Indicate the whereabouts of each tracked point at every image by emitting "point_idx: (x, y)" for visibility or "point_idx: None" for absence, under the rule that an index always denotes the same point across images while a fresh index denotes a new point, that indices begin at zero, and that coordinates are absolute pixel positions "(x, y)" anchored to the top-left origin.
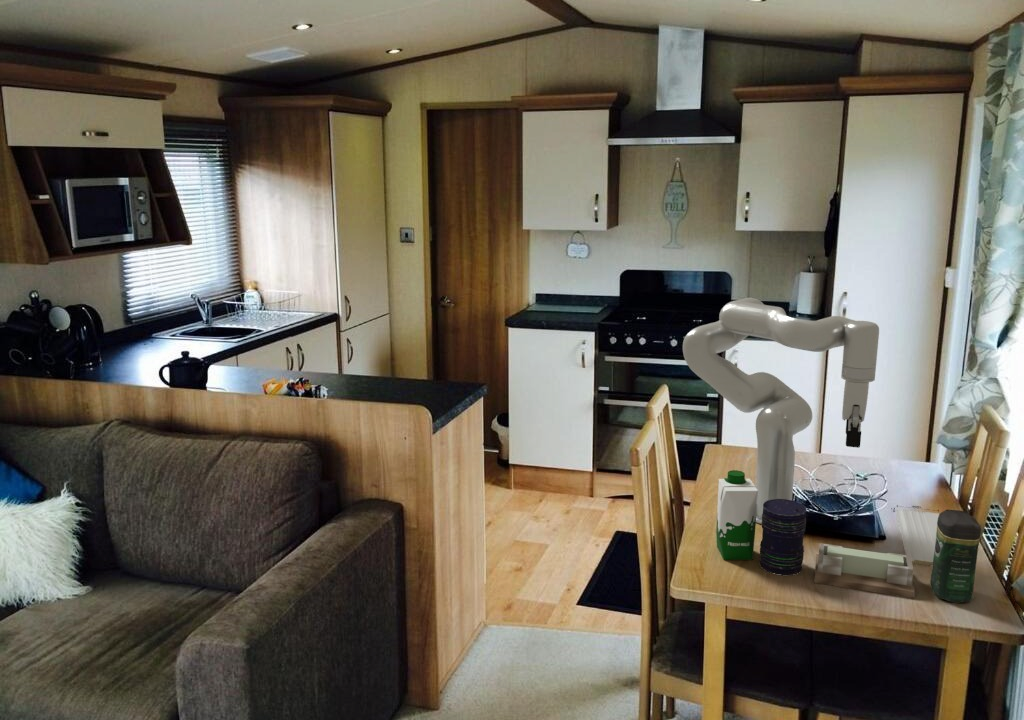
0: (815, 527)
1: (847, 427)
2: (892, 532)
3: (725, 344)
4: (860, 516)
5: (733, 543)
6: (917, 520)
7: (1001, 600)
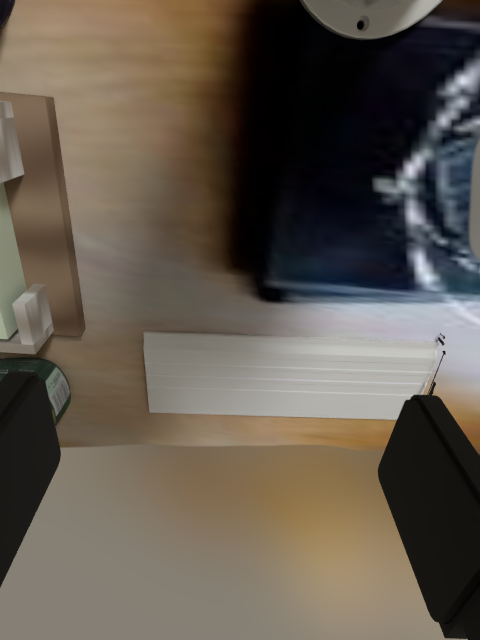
0: (306, 112)
1: (434, 455)
2: (306, 320)
3: None
4: (404, 257)
5: None
6: (370, 379)
7: None
